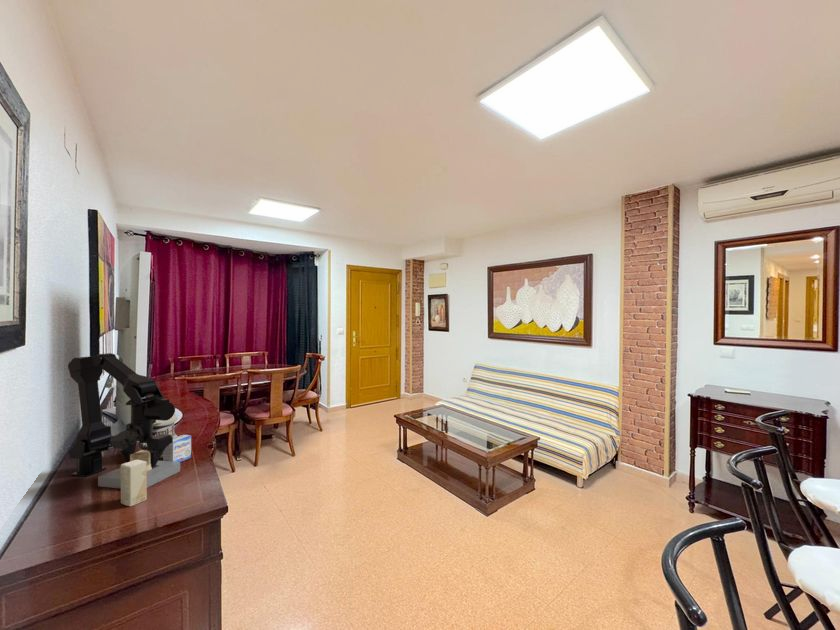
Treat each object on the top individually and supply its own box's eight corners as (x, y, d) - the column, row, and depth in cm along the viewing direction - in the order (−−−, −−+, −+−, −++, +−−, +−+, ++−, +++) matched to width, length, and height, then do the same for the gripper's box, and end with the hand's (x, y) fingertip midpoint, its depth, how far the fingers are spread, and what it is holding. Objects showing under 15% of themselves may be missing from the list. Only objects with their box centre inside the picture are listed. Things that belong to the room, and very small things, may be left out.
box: (147, 500, 101) (147, 461, 101) (129, 507, 97) (130, 467, 98) (137, 496, 103) (137, 458, 104) (119, 503, 100) (120, 464, 100)
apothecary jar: (138, 465, 125) (139, 415, 126) (138, 455, 135) (139, 408, 135) (179, 457, 133) (180, 409, 133) (176, 448, 142) (177, 404, 143)
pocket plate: (98, 486, 110) (98, 476, 110) (140, 467, 123) (140, 459, 124) (141, 490, 107) (141, 480, 107) (180, 471, 121) (180, 462, 121)
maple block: (129, 479, 114) (130, 454, 114) (141, 474, 117) (141, 450, 118) (140, 480, 113) (140, 455, 113) (151, 474, 117) (152, 450, 117)
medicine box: (172, 466, 125) (173, 442, 125) (162, 465, 126) (162, 441, 126) (191, 457, 132) (191, 434, 133) (181, 457, 133) (181, 434, 133)
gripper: (91, 424, 109) (90, 474, 109) (142, 427, 106) (142, 479, 106) (127, 414, 120) (126, 460, 120) (174, 417, 117) (173, 464, 117)
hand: (141, 466), depth 115 cm, fingers open, 9 cm apart
